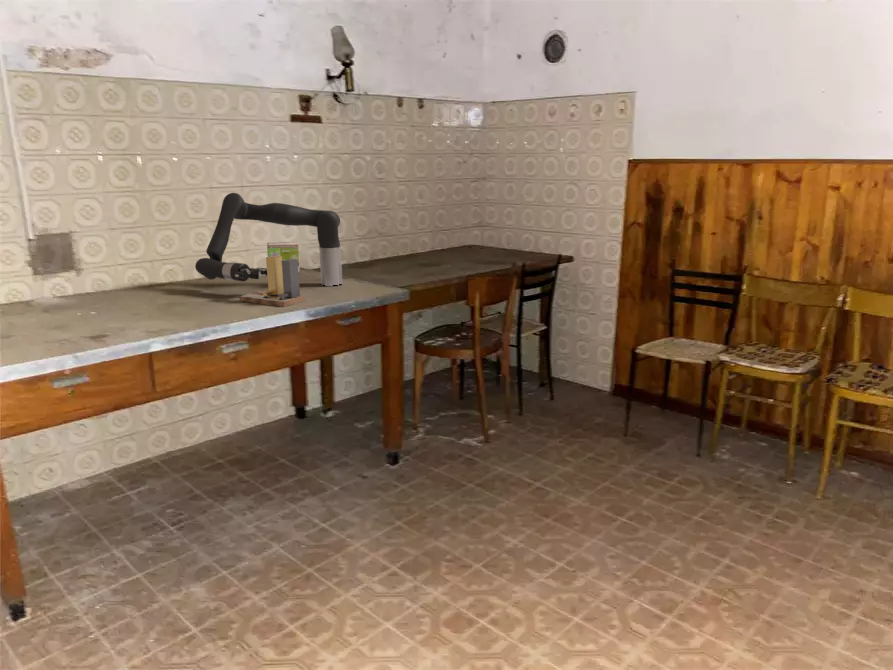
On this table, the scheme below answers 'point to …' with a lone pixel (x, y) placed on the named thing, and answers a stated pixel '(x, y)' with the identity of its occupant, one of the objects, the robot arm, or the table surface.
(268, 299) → the divider base
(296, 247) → the tea box
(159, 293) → the table surface
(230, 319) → the table surface
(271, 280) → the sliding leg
